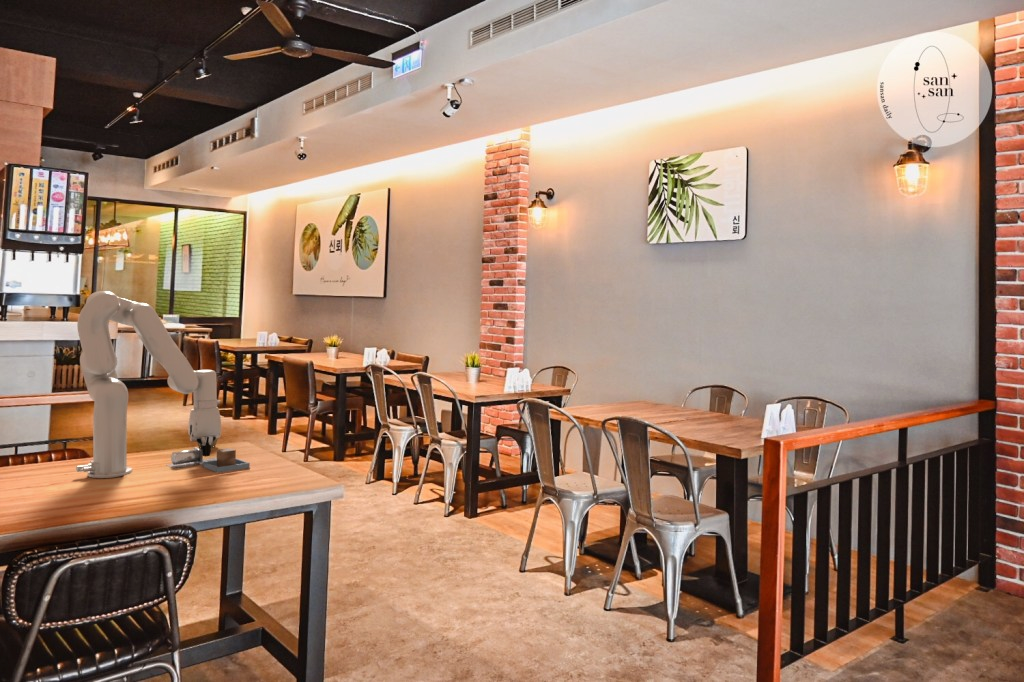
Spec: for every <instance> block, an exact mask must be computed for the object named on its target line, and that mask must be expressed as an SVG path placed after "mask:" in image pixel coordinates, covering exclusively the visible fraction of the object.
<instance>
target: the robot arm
mask: <svg viewBox="0 0 1024 682" xmlns="http://www.w3.org/2000/svg"><path fill="white" fill-rule="evenodd" d="M110 321H112V322H115V323H117V324H120V325H126V326H128V327H132V328H133V330H134V332H135V334H137V336H138V338H139V339H140V341H141V342H142V344H143V345H144V347H145V349H146V350H147V353H148V354H149V355H150V357H152V358H153V359H154V360H156V362H158V363H159V364H160V365H161V366H162V368H163V369H164V370H165V371H166V373H167V374H168V377H167V381H166V382H167V385H168V387H169V388H170V389H171V390H172V391H175V392H177V393H180V394H184V395H189V394H192V393H193V394H192V396H193V408H191V409H190V413H189V420H188V435H189V441H190V442H196V443H197V442H198V443H199V444H200V447H201V448H200V449H202V450H203V457H210V456H211V452H212V448H211V444H212V442H213V441H214V440H215V439H217V438H218V439H220V438H222V437H221V436H222V434H221V433H222V420H221V414H220V413H221V412H220V409H219V407H218V405H219V404H221V399H218V398H217V392H218V391H217V372H216V371H215V370H212V369H199V370H198V369H197V370H194V369H193V367H192V365H191V364H190V362H189V360H188V359H187V357H186V356H185V355H184V354H183V352H182V351H181V350H180V348H179V346H178V345H177V344H176V342H175V341H174V340H173V338H172V337H171V335H170V333H169V332H168V330H167V328H166V327H165V325H164V323H163V321H162V320H161V318H160V316H159V315H158V313H157V312H156V310H155V308H154V307H153V306H152V305H150V304H148V303H145V302H137V301H132V300H129V299H127V298H122V297H120V296H118V295H116V294H115V293H114V292H112V291H108V290H102V291H101V290H100V291H99V290H98V291H95V292H93V293H90V295H89V296H87V298H86V301H85V304H84V305H83V307H82V309H81V310H80V313H79V315H78V318H77V333H78V337H79V342H80V345H81V350H82V352H81V354H80V356H79V365H80V369H81V372H82V375H83V379H84V383H85V387H86V389H87V393H88V395H89V396H90V398H91V399H92V401H93V402H94V403H93V417H92V419H93V420H92V430H93V432H92V434H93V436H92V437H93V441H92V443H93V444H92V446H93V452H92V453H93V454H92V455H93V458H92V460H90V463H87V464H85V465H77V466H75V471H76V473H80V472H81V473H82V472H83V473H86V472H87V476H88V477H89V478H93V479H112V478H118V477H119V478H120V477H125V475H129V474H131V473H132V472H133V468H132V467H129V466H127V464H128V462H127V459H128V458H127V454H128V452H127V449H128V448H127V447H128V446H127V443H128V442H127V440H128V438H127V435H128V433H127V432H128V428H127V427H128V425H127V424H128V423H127V422H128V421H127V419H128V418H127V417H128V405H129V391H128V387H127V386H126V384H125V383H124V382H123V381H121V380H119V379H118V374H117V371H116V368H117V365H118V358H117V355H116V352H115V348H114V345H113V342H112V338H111V333H110V329H109V325H110ZM205 437H206V442H205ZM198 443H197V444H198Z"/></svg>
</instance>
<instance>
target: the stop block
mask: <svg viewBox="0 0 1024 682" xmlns="http://www.w3.org/2000/svg"><path fill="white" fill-rule="evenodd" d="M236 453H237V451H236V449H234V448H231V447H227V448H220V449H216V458H217V467H223V466H230V465H236V458H237V457H236V456H237V454H236Z"/></svg>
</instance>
